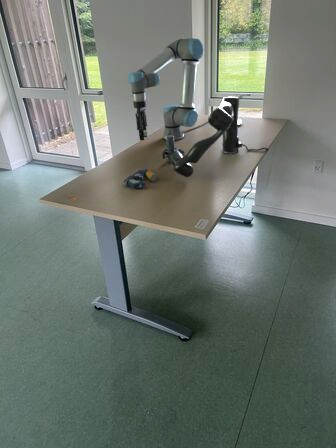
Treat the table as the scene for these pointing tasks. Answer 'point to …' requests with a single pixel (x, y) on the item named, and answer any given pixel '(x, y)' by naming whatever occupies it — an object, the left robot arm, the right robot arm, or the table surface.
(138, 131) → the lid
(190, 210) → the table surface
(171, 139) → the bottle
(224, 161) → the table surface
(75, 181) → the table surface
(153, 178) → the spray gun
